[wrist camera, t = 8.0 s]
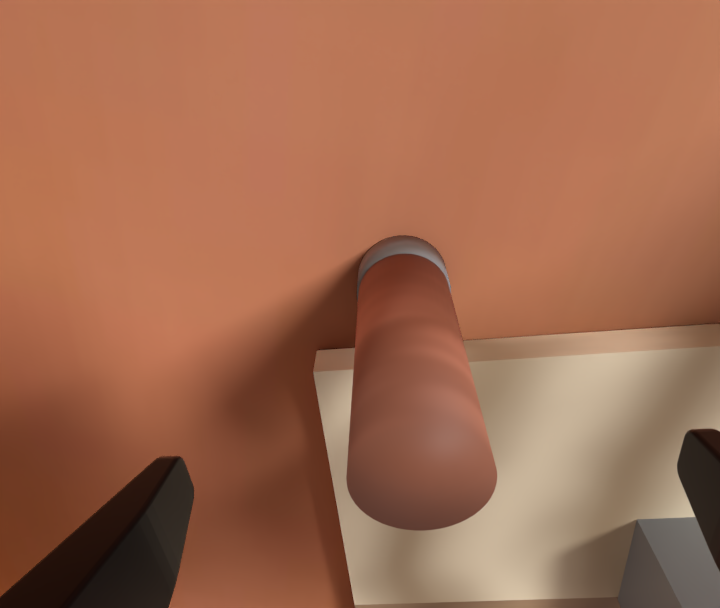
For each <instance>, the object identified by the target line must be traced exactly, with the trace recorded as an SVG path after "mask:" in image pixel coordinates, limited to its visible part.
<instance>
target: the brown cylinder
mask: <svg viewBox="0 0 720 608" xmlns="http://www.w3.org/2000/svg"><path fill="white" fill-rule="evenodd" d="M357 301H358V309H357V324H356V339H355V355H354V370H353V385H352V400H351V415H350V430H349V445H348V460H347V475H346V481H347V488H348V492H349V494H350V496H351V498H352V500H353V501H354V503H355V504H356V505H357V506H358V507H359V509H360V510H361V511H363V512H364V513H365V514H366V515H368V516H369V517H371V518H372V519H374V520H376V521H378V522H380V523H382V524H385V525H388V526H391V527H395V528H399V529H404V530H414V531H425V530H435V529H441V528H445V527H449V526H452V525H455V524H458V523H460V522H462V521H464V520H467V519H468V518H470V517H472V516H473V515H475V514H476V513H477V512H478V511H480V510H481V509H482V508H483V507H484V506H485V505H486V504H487V502H488V501H489V500H490V498H491V497H492V495H493V493H494V490H495V487H496V484H497V469H496V465H495V461H494V457H493V453H492V450H491V446H490V442H489V438H488V434H487V431H486V427H485V423H484V419H483V415H482V411H481V408H480V404H479V400H478V396H477V392H476V388H475V385H474V381H473V377H472V373H471V369H470V366H469V362H468V358H467V354H466V350H465V346H464V343H463V339H462V335H461V331H460V327H459V324H458V320H457V316H456V312H455V308H454V304H453V301H452V297H451V286H450V282H449V278H448V275H447V271H446V267H445V263H444V261H443V258H442V257H441V255H440V253H439V252H438V251H437V250H436V249H435V248H434V247H433V246H432V245H431V244H429V243H428V242H426V241H424V240H423V239H420V238H417V237H413V236H393V237H390V238H386V239H384V240H382V241H380V242H378V243H376V244H375V245H374V246H372V247H371V248H370V249H369V250H368V251H367V253H366V254H365V255H364V257H363V259H362V261H361V263H360V266H359V272H358V284H357Z"/></svg>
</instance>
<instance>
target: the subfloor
mask: <svg viewBox="0 0 720 608" xmlns="http://www.w3.org/2000/svg"><path fill="white" fill-rule="evenodd" d="M463 343H464V346H465V350H466V354H467V358H468V362H469V366H470V369H471V373H472V377H473V381H474V385H475V388H476V392H477V396H478V400H479V404H480V408H481V411H482V415H483V419H484V423H485V427H486V431H487V434H488V438H489V442H490V446H491V450H492V453H493V457H494V461H495V465H496V469H497V484H496V487H495V490H494V493H493V495H492V497H491V498H490V500H489V501H488V502H487V504H486V505H485V506H484V507H483V508H482V509H481V510H480V511H478V512H477V513H476V514H475V515H473V516H472V517H470V518H468V519H467V520H464V521H462V522H460V523H458V524H455V525H452V526H449V527H445V528H441V529H435V530H425V531H414V530H404V529H399V528H395V527H391V526H388V525H385V524H382V523H380V522H378V521H376V520H374V519H372V518H371V517H369V516H368V515H366V514H365V513H364V512H363V511H361V510H360V509H359V507H358V506H357V505H356V504H355V503H354V501H353V500H352V498H351V496H350V494H349V492H348V488H347V481H346V475H347V460H348V445H349V430H350V415H351V400H352V385H353V370H354V355H355V348H345V349H330V350H317V353H316V358H315V364H314V370H313V374H314V380H315V386H316V391H317V397H318V403H319V408H320V414H321V419H322V425H323V431H324V436H325V442H326V448H327V453H328V459H329V464H330V470H331V476H332V481H333V487H334V493H335V498H336V504H337V509H338V515H339V521H340V526H341V532H342V537H343V543H344V549H345V554H346V560H347V566H348V571H349V577H350V582H351V588H352V594H353V599H354V605H355V608H621V607H620V604H619V602H618V595H619V591H620V587H621V583H622V579H623V574H624V570H625V566H626V562H627V558H628V554H629V550H630V546H631V541H632V537H633V533H634V529H635V525H636V521H637V519H659V518H684V517H695V515H694V512H693V510H692V508H691V505H690V503H689V500H688V498H687V496H686V493H685V491H684V488H683V486H682V484H681V481H680V479H679V476H678V472H677V461H678V458H679V454H680V450H681V447H682V443H683V439H684V436H685V433H686V432H687V431H688V430H691V429H706V428H711V429H716V430H718V431H720V323H719V324H704V325H689V326H674V327H659V328H644V329H629V330H614V331H599V332H584V333H569V334H554V335H539V336H524V337H509V338H494V339H479V340H464V341H463Z"/></svg>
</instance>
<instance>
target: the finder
mask: <svg viewBox="0 0 720 608" xmlns="http://www.w3.org/2000/svg"><path fill="white" fill-rule="evenodd" d="M618 602H619V604H620V607H621V608H720V571H719V570H718V568H717V566H716V564H715V562H714V559H713V557H712V555H711V553H710V551H709V548H708V546H707V544H706V541H705V539H704V536H703V534H702V532H701V529H700V527H699V524H698V522H697V520H696V517H684V518H659V519H637V521H636V525H635V529H634V533H633V537H632V541H631V546H630V550H629V554H628V558H627V562H626V566H625V570H624V574H623V579H622V583H621V587H620V591H619V595H618Z"/></svg>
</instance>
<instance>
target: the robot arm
mask: <svg viewBox="0 0 720 608" xmlns="http://www.w3.org/2000/svg"><path fill="white" fill-rule="evenodd" d="M677 472H678V476H679V479H680V481H681V484H682V486H683V488H684V491H685V493H686V496H687V498H688V500H689V503H690V505H691V508H692V510H693V512H694V515H695V517H696V520H697V522H698V524H699V527H700V529H701V532H702V534H703V536H704V539H705V541H706V544H707V546H708V548H709V551H710V553H711V555H712V557H713V559H714V562H715V564H716V566H717V568H718V570H719V571H720V431H718V430H716V429H711V428H706V429H691V430H688V431H687V432H686V433H685V436H684V439H683V443H682V447H681V450H680V454H679V458H678V461H677ZM193 499H194V487H193V484H192V481H191V478H190V476H189V473H188V470H187V467H186V465H185V462H184V460H183V458H182V457H180V456H163V457H159V458H157V459H156V460H154V461H153V462H152V463H151V464H150V465H149V466H148V467H146V468H145V469H144V470H143V471H142V472H141V473H140V474H139V475H137V476H136V477H135V478H134V479H133V480H132V481H131V482H130V483H128V484H127V485H126V486H125V487H124V488H123V489H122V490H120V491H119V492H118V493H117V494H116V495H115V496H114V497H113V498H111V499H110V500H109V501H108V502H107V503H106V504H105V505H104V506H102V507H101V508H100V509H99V510H98V511H97V512H96V513H94V514H93V515H92V516H91V517H90V518H89V519H88V520H87V521H85V522H84V523H83V524H82V525H81V526H80V527H79V528H78V529H76V530H75V531H74V532H73V533H72V534H71V535H70V536H69V537H67V538H66V539H65V540H64V541H63V542H62V543H61V544H59V545H58V546H57V547H56V548H55V549H54V550H53V551H52V552H50V553H49V554H48V555H47V556H46V557H45V558H44V559H43V560H41V561H40V562H39V563H38V564H37V565H36V566H35V567H33V568H32V569H31V570H30V571H29V572H28V573H27V574H26V575H24V576H23V577H22V578H21V579H20V580H19V581H18V582H17V583H15V584H14V585H13V586H12V587H11V588H10V589H9V590H7V591H6V592H5V593H4V594H3V595H2V596H1V597H0V608H168V607H169V604H170V601H171V597H172V594H173V591H174V587H175V584H176V581H177V576H178V572H179V568H180V563H181V558H182V553H183V548H184V543H185V539H186V534H187V529H188V524H189V519H190V514H191V509H192V504H193Z"/></svg>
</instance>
